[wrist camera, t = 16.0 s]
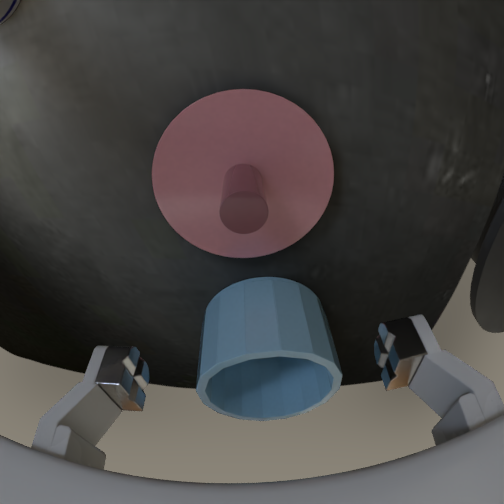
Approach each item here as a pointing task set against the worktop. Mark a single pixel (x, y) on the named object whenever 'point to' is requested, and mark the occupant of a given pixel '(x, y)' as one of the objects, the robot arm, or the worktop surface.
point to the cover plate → (236, 143)
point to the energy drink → (7, 9)
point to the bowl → (266, 351)
